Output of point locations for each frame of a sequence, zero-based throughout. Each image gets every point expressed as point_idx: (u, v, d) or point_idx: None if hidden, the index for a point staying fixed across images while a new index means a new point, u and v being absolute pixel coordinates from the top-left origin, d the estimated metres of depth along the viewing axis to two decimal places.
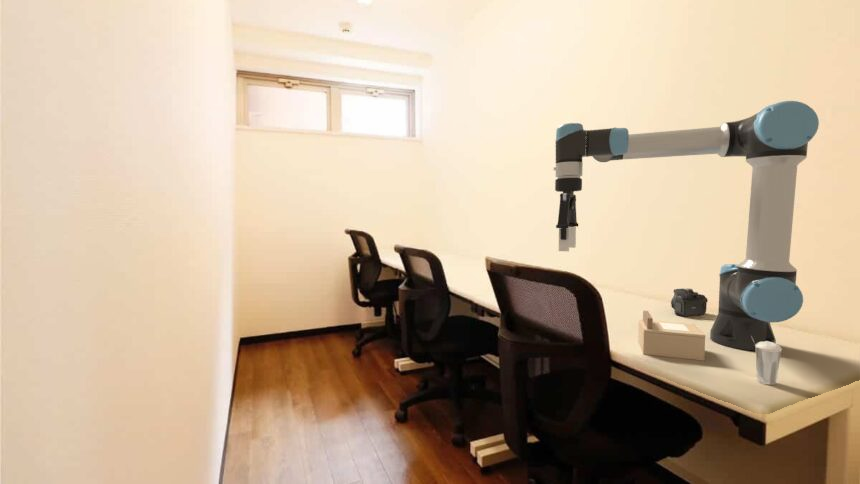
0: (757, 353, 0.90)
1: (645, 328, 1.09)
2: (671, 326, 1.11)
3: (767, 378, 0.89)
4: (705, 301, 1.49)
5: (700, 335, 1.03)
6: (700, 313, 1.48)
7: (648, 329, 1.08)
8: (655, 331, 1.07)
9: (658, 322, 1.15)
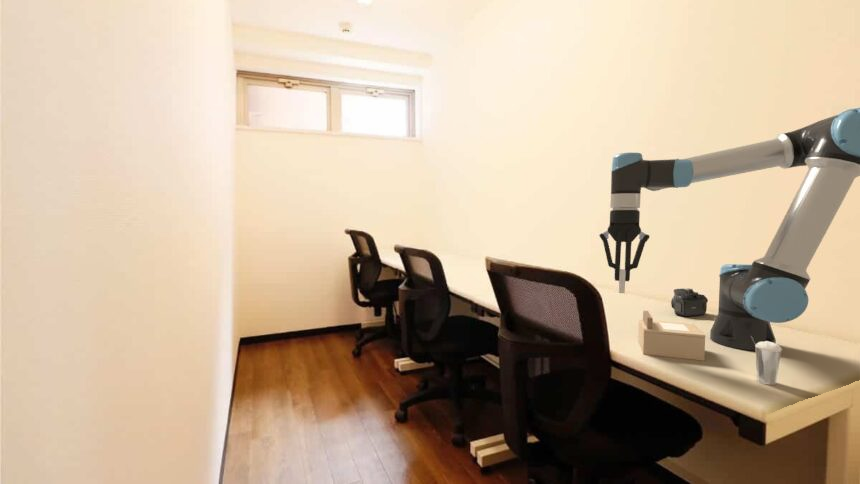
0: (757, 353, 0.90)
1: (645, 328, 1.09)
2: (671, 326, 1.11)
3: (767, 378, 0.89)
4: (705, 301, 1.49)
5: (700, 335, 1.03)
6: (700, 313, 1.48)
7: (648, 329, 1.08)
8: (655, 331, 1.07)
9: (658, 322, 1.15)
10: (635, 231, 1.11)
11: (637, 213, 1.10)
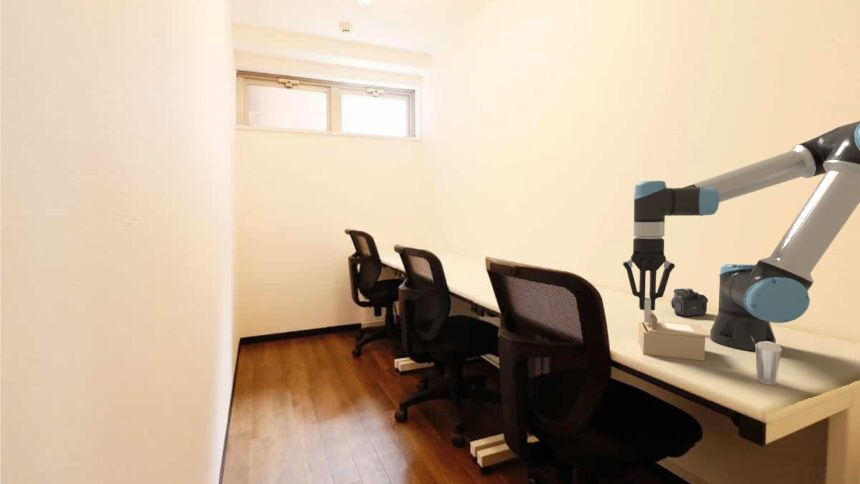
0: (757, 353, 0.90)
1: (650, 328, 1.09)
2: (676, 326, 1.10)
3: (767, 378, 0.89)
4: (705, 301, 1.49)
5: (705, 335, 1.03)
6: (700, 313, 1.48)
7: (653, 329, 1.08)
8: (660, 331, 1.07)
9: (662, 322, 1.15)
10: (660, 260, 1.09)
11: (662, 242, 1.08)
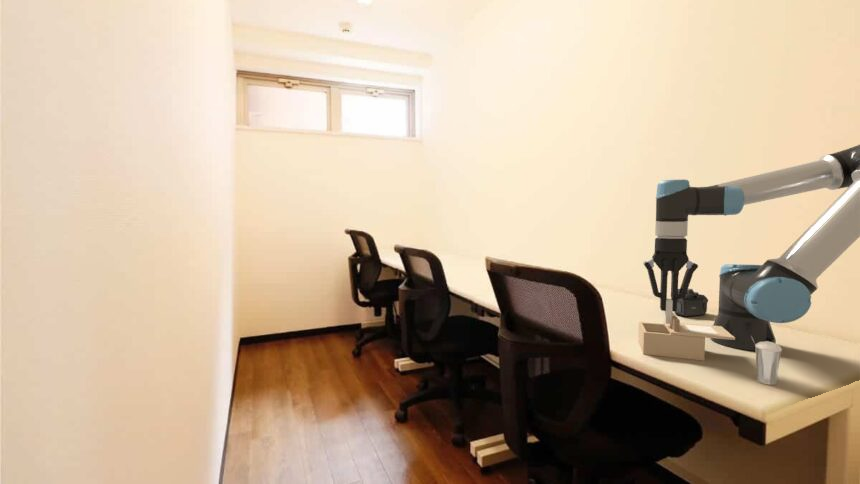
0: (757, 353, 0.90)
1: (672, 330, 1.07)
2: (698, 328, 1.08)
3: (767, 378, 0.89)
4: (705, 301, 1.49)
5: (729, 338, 1.01)
6: (700, 313, 1.48)
7: (675, 331, 1.06)
8: (682, 333, 1.05)
9: (684, 324, 1.13)
10: (682, 260, 1.07)
11: (685, 242, 1.06)
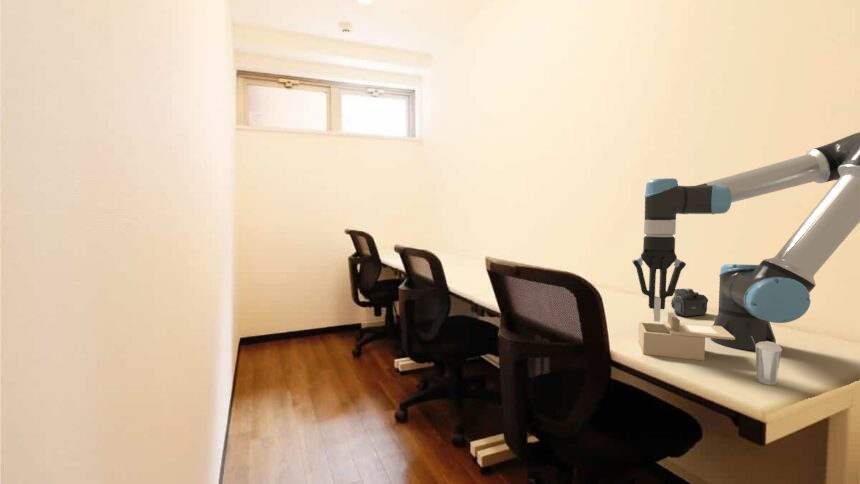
0: (757, 353, 0.90)
1: (672, 330, 1.07)
2: (698, 328, 1.08)
3: (767, 378, 0.89)
4: (706, 301, 1.49)
5: (729, 338, 1.01)
6: (700, 313, 1.48)
7: (675, 331, 1.06)
8: (682, 333, 1.05)
9: (684, 324, 1.13)
10: (670, 258, 1.08)
11: (673, 240, 1.07)
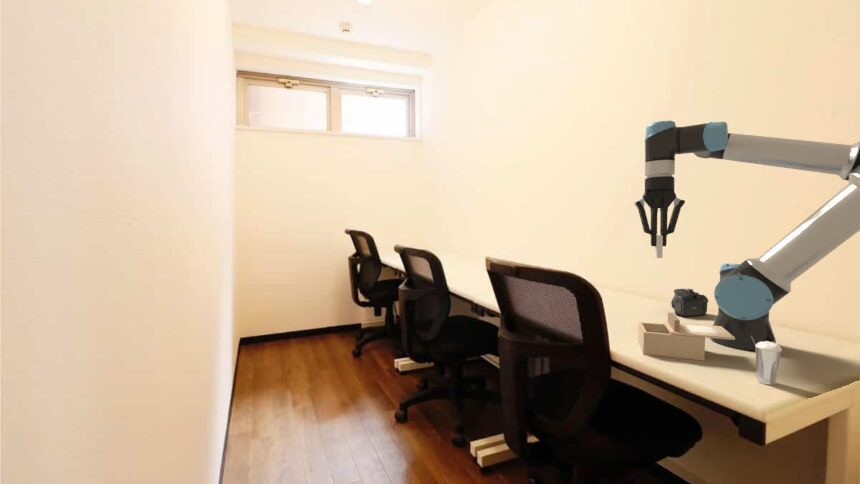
0: (757, 353, 0.90)
1: (672, 330, 1.07)
2: (698, 328, 1.08)
3: (767, 378, 0.89)
4: (706, 301, 1.49)
5: (729, 338, 1.01)
6: (700, 313, 1.47)
7: (675, 331, 1.06)
8: (682, 333, 1.05)
9: (684, 324, 1.13)
10: (671, 197, 1.15)
11: (673, 179, 1.14)
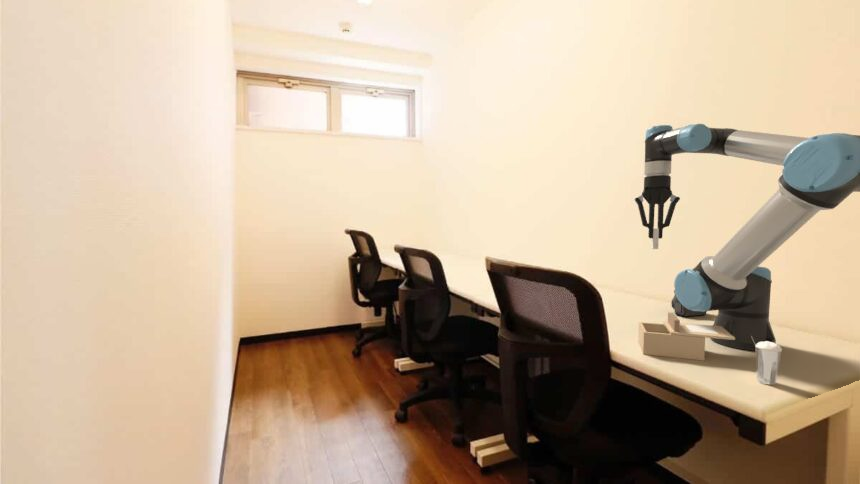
0: (757, 353, 0.90)
1: (672, 330, 1.07)
2: (698, 328, 1.08)
3: (767, 378, 0.89)
4: None
5: (729, 338, 1.01)
6: (700, 313, 1.47)
7: (675, 331, 1.06)
8: (682, 333, 1.05)
9: (684, 324, 1.13)
10: (667, 194, 1.28)
11: (669, 178, 1.26)
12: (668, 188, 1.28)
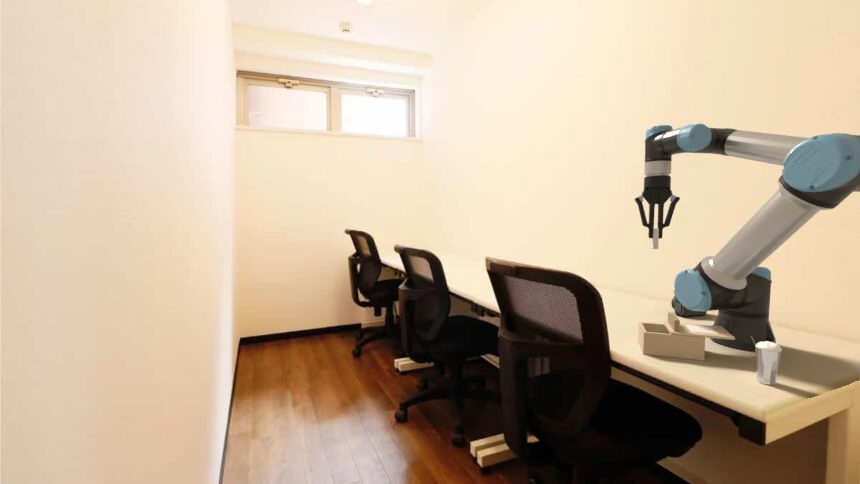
0: (757, 353, 0.90)
1: (672, 330, 1.07)
2: (698, 328, 1.08)
3: (767, 378, 0.89)
4: None
5: (729, 338, 1.01)
6: (700, 313, 1.47)
7: (675, 331, 1.06)
8: (682, 333, 1.05)
9: (684, 324, 1.13)
10: (667, 194, 1.28)
11: (669, 178, 1.26)
12: (668, 188, 1.28)
